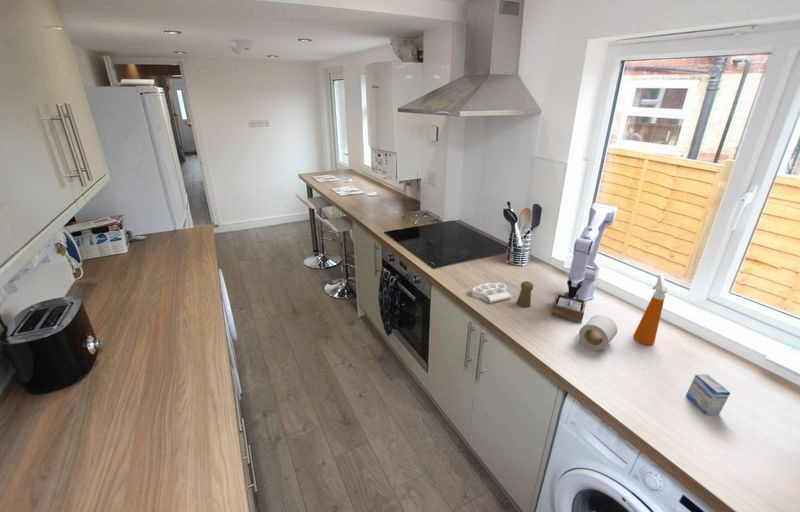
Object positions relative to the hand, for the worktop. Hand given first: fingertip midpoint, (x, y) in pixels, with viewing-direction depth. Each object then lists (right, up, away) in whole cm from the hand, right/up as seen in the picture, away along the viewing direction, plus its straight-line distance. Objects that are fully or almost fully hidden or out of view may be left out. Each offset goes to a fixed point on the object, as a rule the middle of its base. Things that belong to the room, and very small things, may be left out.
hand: (571, 295), depth 156 cm
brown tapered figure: (-18, -5, +9) cm, 20 cm away
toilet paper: (+1, -17, -16) cm, 23 cm away
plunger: (0, -5, +2) cm, 6 cm away
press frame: (0, -8, +3) cm, 9 cm away
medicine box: (+19, -29, -44) cm, 56 cm away
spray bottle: (+22, -16, -12) cm, 30 cm away
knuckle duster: (-30, -2, +17) cm, 35 cm away
